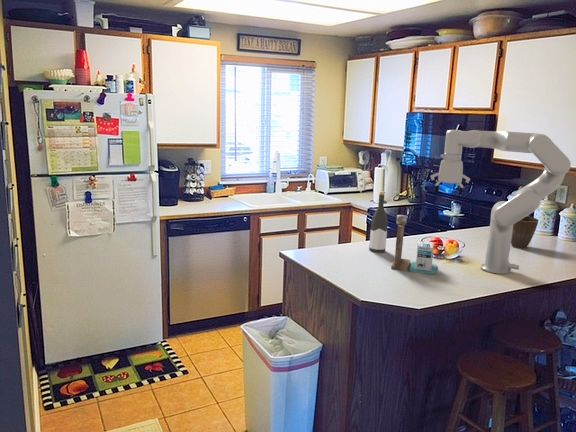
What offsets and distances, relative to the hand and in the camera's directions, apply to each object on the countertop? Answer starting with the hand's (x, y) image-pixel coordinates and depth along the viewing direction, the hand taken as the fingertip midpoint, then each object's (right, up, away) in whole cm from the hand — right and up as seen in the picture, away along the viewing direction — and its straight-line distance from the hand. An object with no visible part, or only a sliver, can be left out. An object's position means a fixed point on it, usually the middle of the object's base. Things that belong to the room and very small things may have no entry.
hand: (448, 195), depth 226 cm
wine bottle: (-28, -27, +23) cm, 45 cm away
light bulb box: (-12, -33, -4) cm, 35 cm away
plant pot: (+52, -26, +42) cm, 72 cm away
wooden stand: (-22, -32, 0) cm, 39 cm away
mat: (-12, -33, -4) cm, 36 cm away
